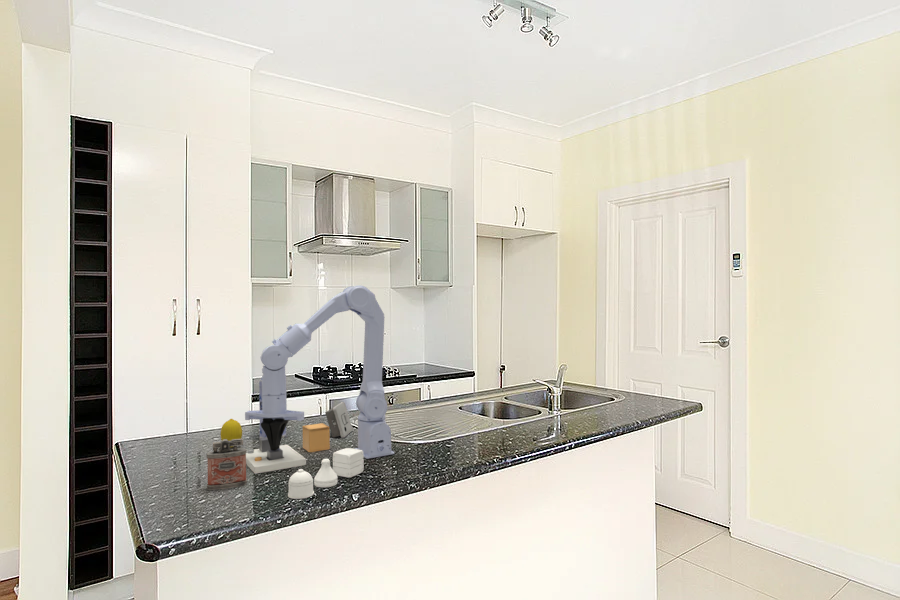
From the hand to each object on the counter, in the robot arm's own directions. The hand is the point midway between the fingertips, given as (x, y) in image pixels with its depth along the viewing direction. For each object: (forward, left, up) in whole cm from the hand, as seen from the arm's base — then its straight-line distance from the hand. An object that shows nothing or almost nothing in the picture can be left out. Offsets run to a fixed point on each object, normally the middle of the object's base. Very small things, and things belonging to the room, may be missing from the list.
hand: (275, 449), depth 133 cm
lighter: (-10, +13, -4) cm, 17 cm away
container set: (-21, -5, -4) cm, 22 cm away
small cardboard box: (+8, -13, -3) cm, 15 cm away
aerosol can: (+29, -7, -4) cm, 30 cm away
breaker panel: (+3, 0, -3) cm, 4 cm away
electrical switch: (+19, -24, -4) cm, 30 cm away
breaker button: (0, 0, -3) cm, 3 cm away
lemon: (+22, +6, -4) cm, 23 cm away
